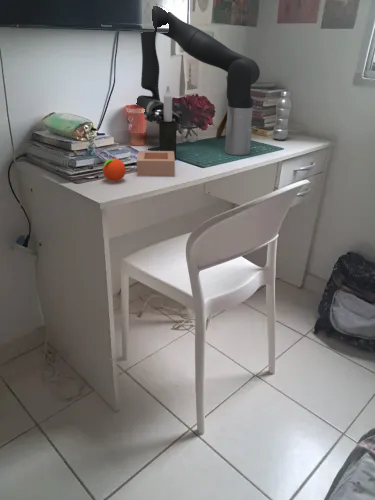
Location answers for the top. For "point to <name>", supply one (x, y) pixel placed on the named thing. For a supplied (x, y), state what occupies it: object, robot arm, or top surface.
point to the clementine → (114, 169)
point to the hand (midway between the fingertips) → (169, 120)
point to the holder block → (155, 163)
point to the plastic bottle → (282, 116)
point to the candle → (167, 126)
